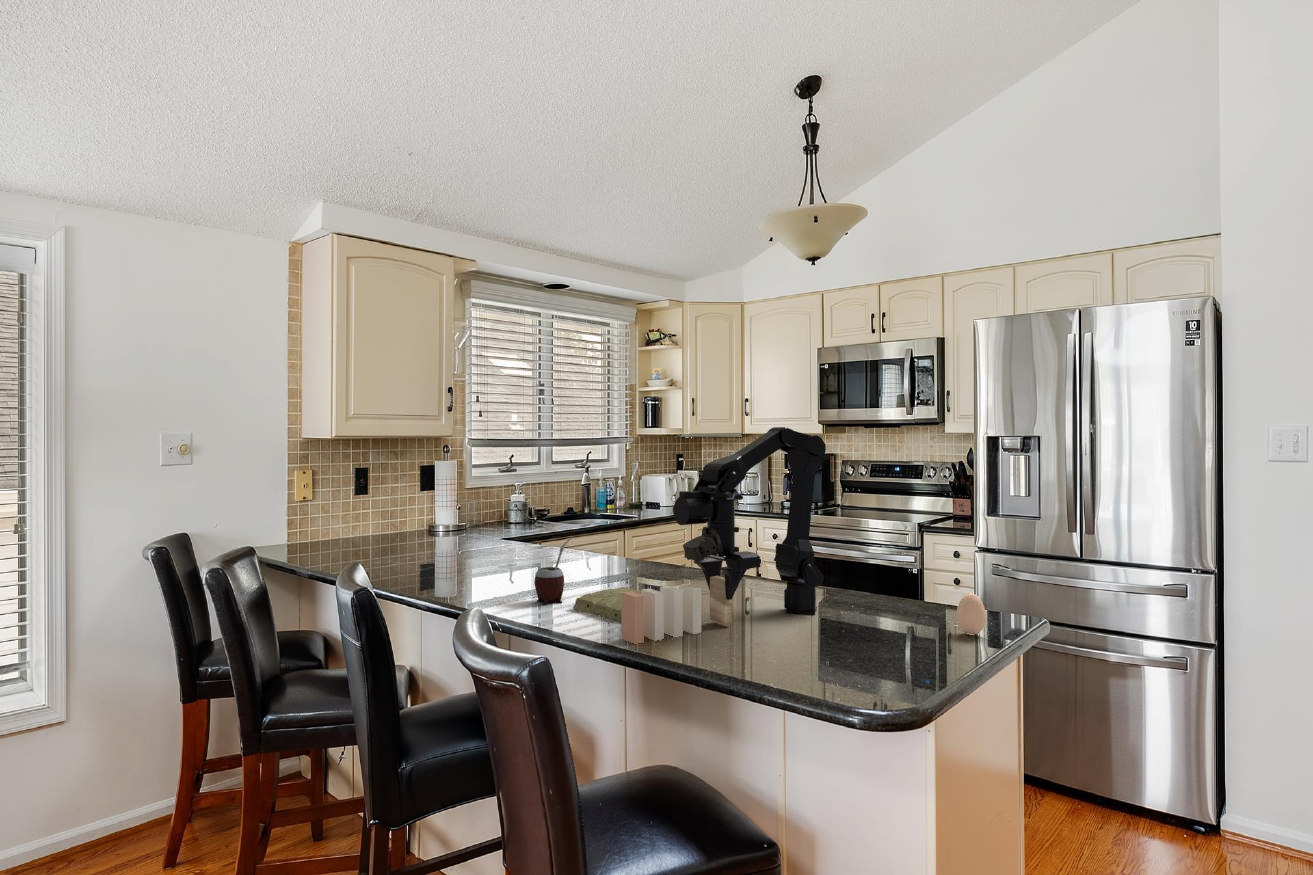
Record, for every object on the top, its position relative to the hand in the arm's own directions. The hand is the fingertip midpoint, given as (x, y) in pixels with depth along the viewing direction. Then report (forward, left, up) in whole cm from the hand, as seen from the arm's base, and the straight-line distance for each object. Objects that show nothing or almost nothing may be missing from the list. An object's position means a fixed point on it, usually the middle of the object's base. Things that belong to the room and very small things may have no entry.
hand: (721, 597), depth 150 cm
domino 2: (+11, +13, -6) cm, 18 cm away
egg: (-49, -6, -6) cm, 50 cm away
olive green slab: (+23, -7, -6) cm, 25 cm away
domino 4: (+5, +6, -6) cm, 10 cm away
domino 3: (+8, +10, -6) cm, 14 cm away
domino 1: (+14, +17, -6) cm, 22 cm away
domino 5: (0, 0, -5) cm, 5 cm away
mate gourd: (+43, -9, -6) cm, 45 cm away
